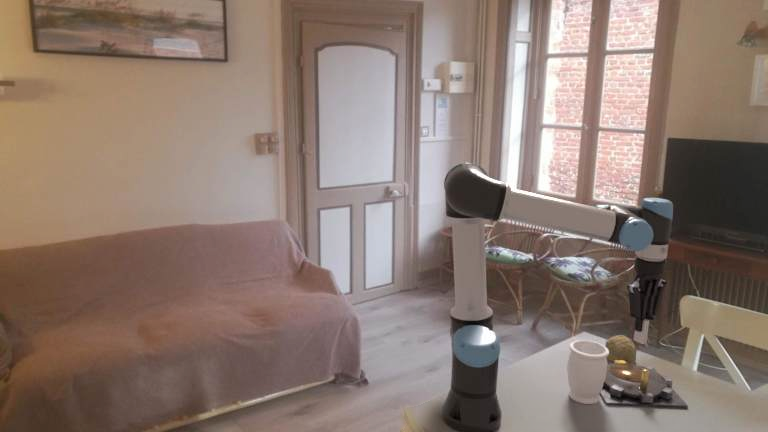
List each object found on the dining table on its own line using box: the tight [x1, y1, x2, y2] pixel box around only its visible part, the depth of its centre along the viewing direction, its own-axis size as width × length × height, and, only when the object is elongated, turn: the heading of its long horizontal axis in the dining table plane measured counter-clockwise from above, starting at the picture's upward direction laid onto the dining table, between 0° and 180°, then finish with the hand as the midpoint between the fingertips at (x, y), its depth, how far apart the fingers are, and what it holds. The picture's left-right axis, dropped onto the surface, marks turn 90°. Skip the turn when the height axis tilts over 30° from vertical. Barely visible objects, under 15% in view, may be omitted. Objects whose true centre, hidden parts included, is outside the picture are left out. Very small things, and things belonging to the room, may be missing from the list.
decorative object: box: [604, 334, 637, 365], centre depth 190 cm, size 9×10×10 cm
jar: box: [566, 339, 609, 405], centre depth 165 cm, size 11×10×15 cm
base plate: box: [599, 367, 689, 409], centre depth 173 cm, size 22×22×1 cm
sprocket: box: [603, 360, 674, 403], centre depth 172 cm, size 22×22×8 cm
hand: (640, 341), depth 160 cm, fingers closed
